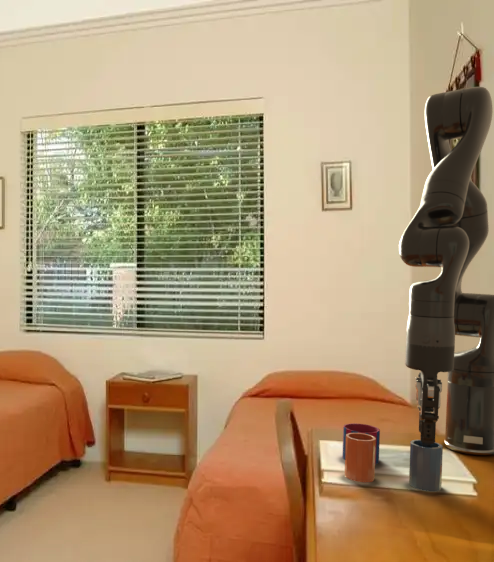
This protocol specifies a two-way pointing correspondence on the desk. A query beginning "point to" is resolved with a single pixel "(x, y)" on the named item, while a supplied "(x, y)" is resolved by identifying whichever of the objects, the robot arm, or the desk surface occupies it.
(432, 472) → the holder
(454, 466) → the desk surface
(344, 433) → the mug
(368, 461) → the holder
